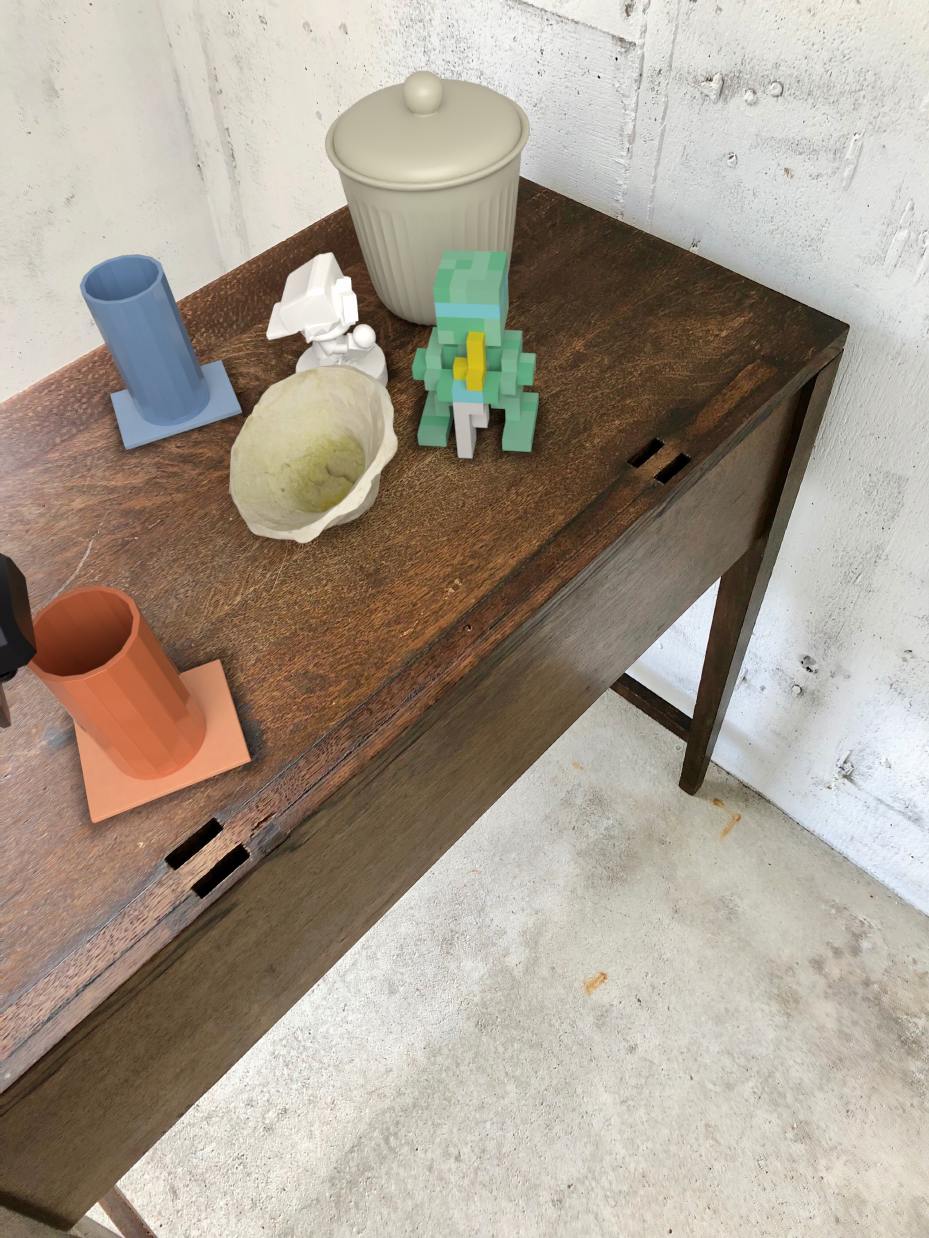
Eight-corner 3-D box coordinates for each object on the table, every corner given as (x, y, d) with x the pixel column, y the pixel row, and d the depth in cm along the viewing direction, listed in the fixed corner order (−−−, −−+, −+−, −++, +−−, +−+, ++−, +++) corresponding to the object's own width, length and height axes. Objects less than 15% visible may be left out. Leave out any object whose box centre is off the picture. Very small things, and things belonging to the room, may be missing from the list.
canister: (320, 319, 89) (270, 100, 72) (417, 229, 98) (393, 14, 81) (471, 372, 83) (455, 146, 66) (561, 271, 91) (568, 48, 74)
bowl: (212, 498, 76) (173, 408, 67) (347, 424, 80) (326, 331, 72) (301, 604, 68) (269, 518, 60) (445, 516, 73) (433, 425, 64)
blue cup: (145, 434, 80) (86, 312, 70) (132, 391, 84) (74, 268, 73) (217, 411, 81) (170, 288, 71) (201, 369, 85) (154, 246, 75)
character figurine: (383, 412, 81) (362, 298, 71) (282, 414, 81) (247, 301, 72) (391, 351, 86) (373, 236, 76) (296, 353, 86) (266, 240, 77)
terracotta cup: (104, 786, 60) (11, 688, 49) (116, 700, 64) (33, 592, 53) (203, 773, 60) (131, 673, 49) (209, 688, 64) (145, 579, 53)
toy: (416, 455, 77) (394, 307, 65) (435, 380, 83) (418, 231, 70) (529, 462, 76) (528, 312, 63) (541, 385, 81) (542, 234, 69)
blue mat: (126, 450, 80) (124, 446, 79) (112, 398, 84) (109, 394, 84) (242, 412, 82) (241, 408, 81) (222, 363, 86) (220, 359, 86)
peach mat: (94, 823, 59) (91, 820, 58) (75, 716, 64) (72, 713, 63) (251, 761, 61) (249, 758, 60) (221, 662, 66) (219, 658, 65)
